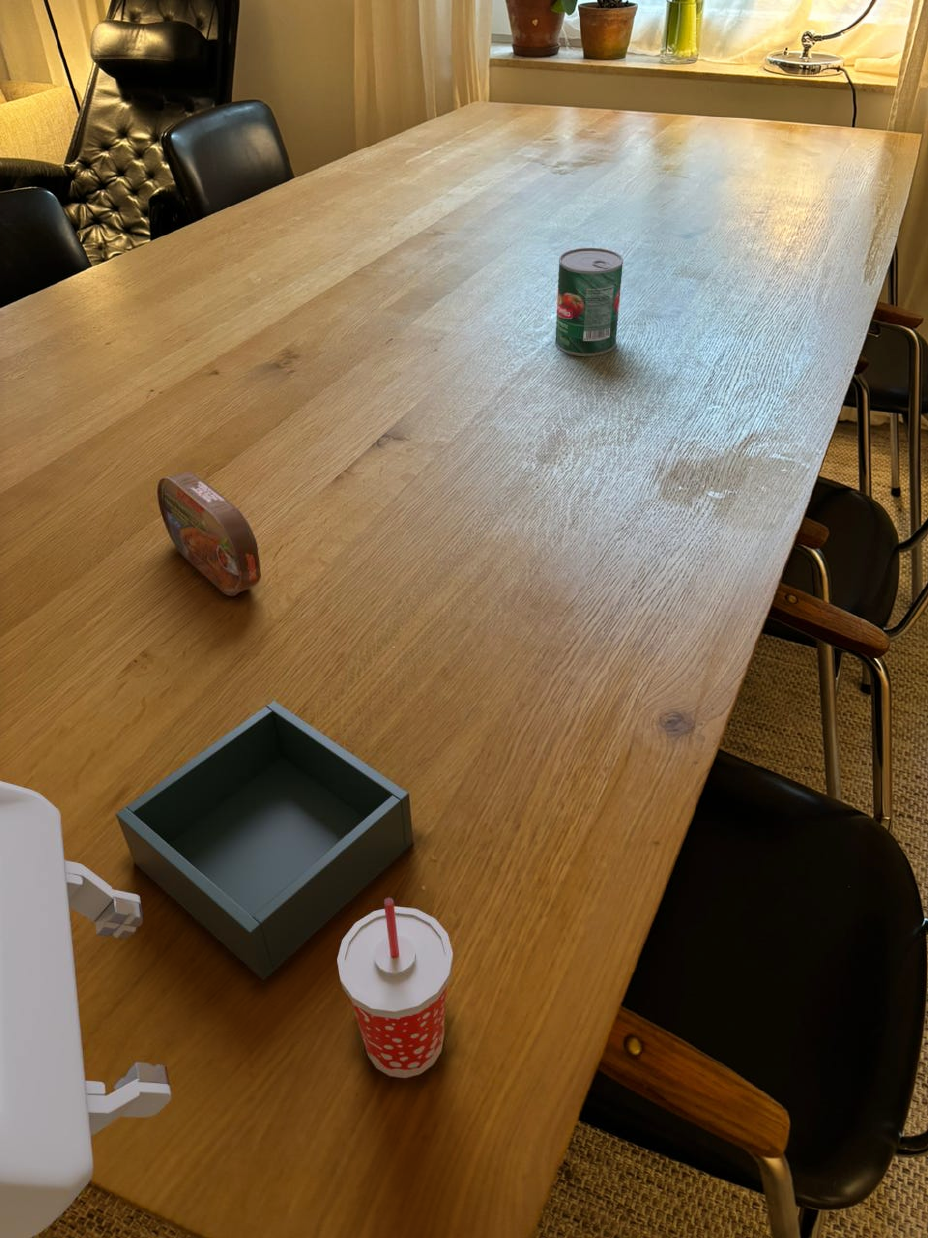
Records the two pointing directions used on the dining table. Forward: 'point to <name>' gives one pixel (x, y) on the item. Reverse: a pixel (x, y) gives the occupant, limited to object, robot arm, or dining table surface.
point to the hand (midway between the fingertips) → (148, 998)
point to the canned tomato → (588, 301)
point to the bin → (268, 834)
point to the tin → (209, 532)
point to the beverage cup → (398, 986)
